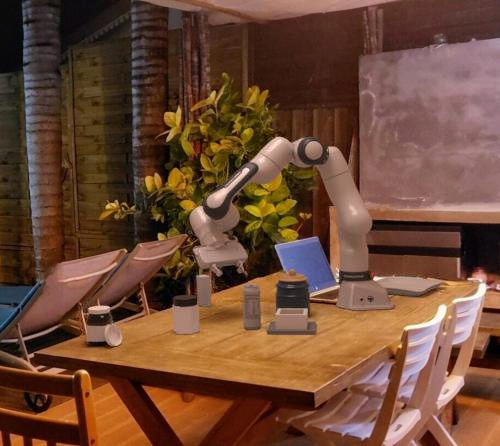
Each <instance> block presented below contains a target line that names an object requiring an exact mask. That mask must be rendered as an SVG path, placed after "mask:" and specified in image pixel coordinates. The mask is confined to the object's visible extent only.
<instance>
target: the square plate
mask: <svg viewBox="0 0 500 446" xmlns="http://www.w3.org/2000/svg"><path fill="white" fill-rule="evenodd" d="M375 281H376V282H377V283H379V284H380V285H381V286H383V287H384V288H385V289H386V291H387V293H388V295H395V296H396V295H397V296H405V297H406V296H407V297H418V296H421V295H423V294H426V293H428V292H430V291H432V290H434V289H437V288H439V287H440V286H442V285H443V283H445V281H444V280H437V279H429V278H419V277H406V276H405V277H404V276H386V277H382V278H379V279H377V280H375Z"/></svg>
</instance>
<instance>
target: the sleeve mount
mask: <svg viewBox="0 0 500 446" xmlns="http://www.w3.org/2000/svg"><path fill="white" fill-rule="evenodd" d="M316 331H317V321H309V317H308V309H293V308H278V310H277V312H276V311H275V319H274V320H271V321H270V323H269V325H268V327H267V329H266V335H280V336H281V335H286V336H287V335H289V336H290V335H291V336H293V335H294V336H295V335H298V336H299V335H301V336H303V335H305V336H308V335H309V336H311V335H313V336H314V335H316Z"/></svg>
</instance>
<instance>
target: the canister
mask: <svg viewBox="0 0 500 446" xmlns="http://www.w3.org/2000/svg"><path fill="white" fill-rule="evenodd" d="M276 279H277V282H276V283H275V285H274V286H275V288H276V289H275V290H276V292H275V294H274V295H275V313H276V312H277V310H278V308H293V309H308V318H309V317H310V316H311V299H310V298H311V292H310V289H309V288H310V286H311V284H310V283H309V282H308V279H309V278H308V277H307V276H305V275H304V274H303V273H297V271H296V269H294V268H291V269H289V270H288V273H283V274H281V275H280V276H279V277H277V278H276Z"/></svg>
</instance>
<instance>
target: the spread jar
mask: <svg viewBox="0 0 500 446" xmlns="http://www.w3.org/2000/svg"><path fill="white" fill-rule="evenodd" d="M110 310H111V307H110V306H109V305H95V306H90V307H88V308H87V311H88V314H87V317H86V340H87V343H88V345H90V346H93V347H102V346H103V347H104V346H107V345H109V346H111V347H117V346H120V345H121V344H122V342H123V333H122V330H121V328H120V327H119V326H118V325H116V324H113V323H114V322H113V316H112V314H111V311H110Z"/></svg>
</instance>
